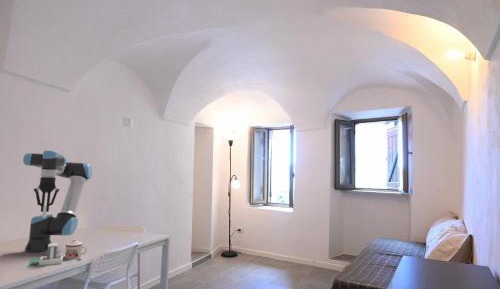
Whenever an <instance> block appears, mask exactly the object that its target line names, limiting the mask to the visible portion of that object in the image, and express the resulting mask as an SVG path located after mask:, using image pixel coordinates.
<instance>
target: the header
mask: <svg viewBox="0 0 500 289" xmlns="http://www.w3.org/2000/svg"><path fill="white" fill-rule="evenodd" d="M39 258H40V260H39V265H49V264H63V261H64V255H63V254H61V255H59V256H57V257H56V259H47V255H46V256H40V257H39Z"/></svg>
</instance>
